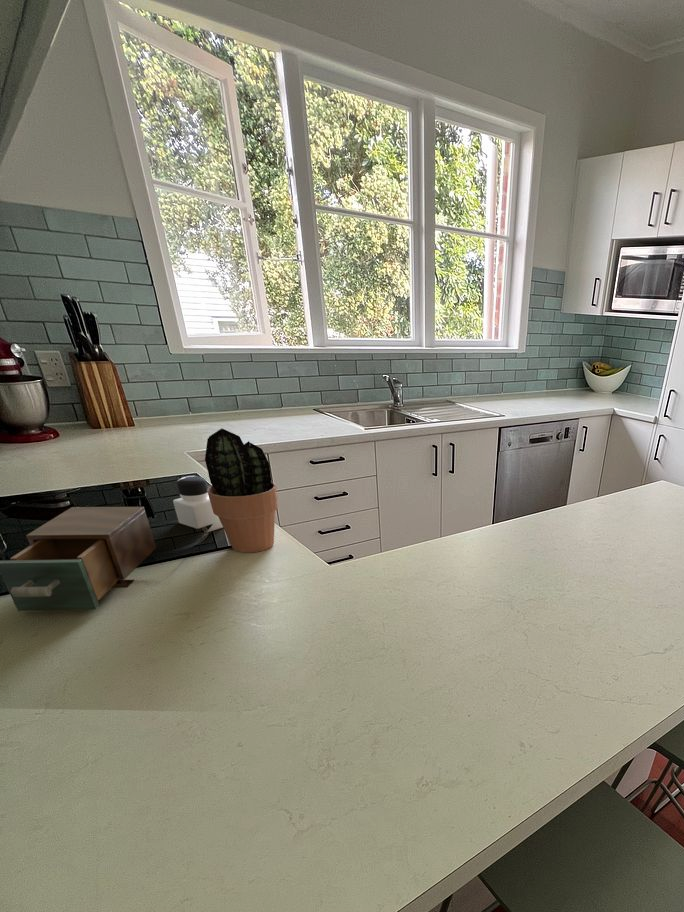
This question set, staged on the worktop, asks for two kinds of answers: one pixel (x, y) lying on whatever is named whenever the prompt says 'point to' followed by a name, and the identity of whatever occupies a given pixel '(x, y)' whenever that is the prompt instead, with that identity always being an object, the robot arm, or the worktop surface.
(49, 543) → the drawer
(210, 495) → the potted plant
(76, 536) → the cabinet
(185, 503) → the medicine bottle
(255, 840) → the worktop surface
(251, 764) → the worktop surface
